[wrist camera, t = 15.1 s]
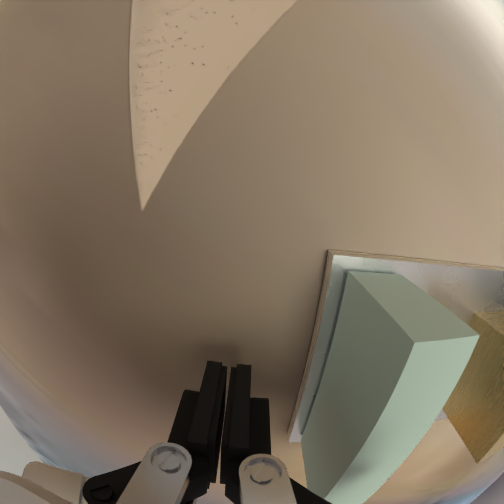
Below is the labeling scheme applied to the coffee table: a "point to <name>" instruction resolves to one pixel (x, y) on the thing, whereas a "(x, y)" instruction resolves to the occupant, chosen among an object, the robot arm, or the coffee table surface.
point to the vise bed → (415, 270)
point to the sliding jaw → (380, 384)
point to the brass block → (481, 390)
